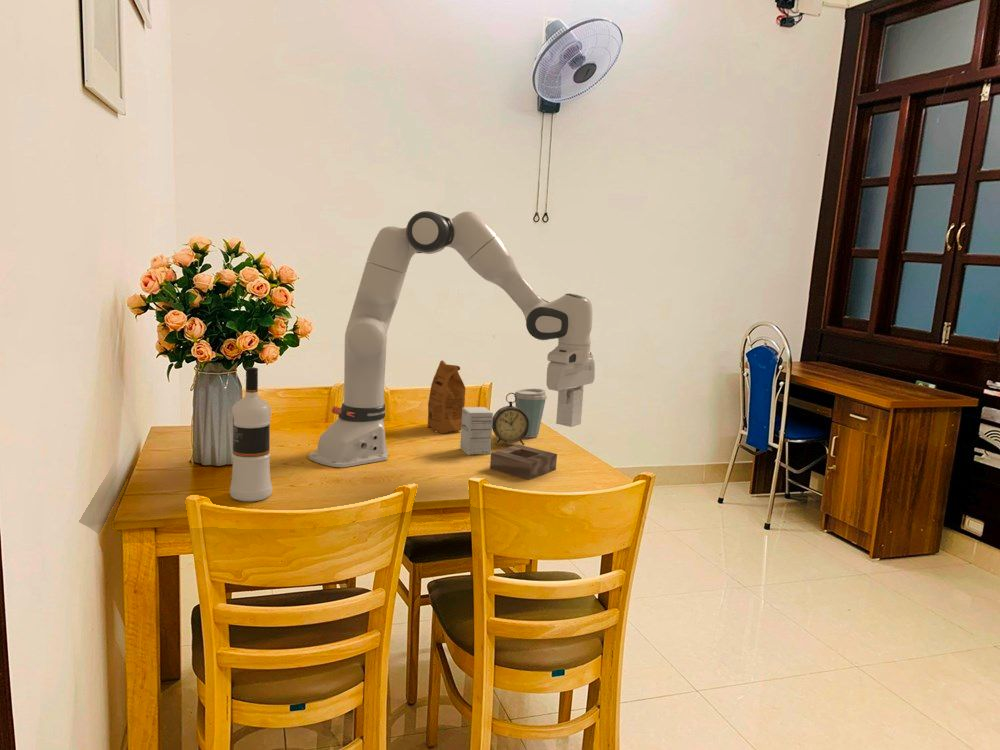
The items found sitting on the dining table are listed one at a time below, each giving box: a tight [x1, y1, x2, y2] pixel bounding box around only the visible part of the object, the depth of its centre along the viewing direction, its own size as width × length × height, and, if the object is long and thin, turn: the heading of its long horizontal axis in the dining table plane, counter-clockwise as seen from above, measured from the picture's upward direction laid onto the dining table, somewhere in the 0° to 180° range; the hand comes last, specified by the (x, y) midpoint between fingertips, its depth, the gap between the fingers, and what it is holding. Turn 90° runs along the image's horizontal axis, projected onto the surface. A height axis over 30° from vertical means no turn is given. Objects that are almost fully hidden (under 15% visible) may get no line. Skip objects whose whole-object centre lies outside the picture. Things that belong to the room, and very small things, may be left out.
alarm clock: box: [492, 392, 529, 446], centre depth 232 cm, size 11×5×16 cm, turn 102°
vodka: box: [229, 366, 273, 503], centre depth 172 cm, size 9×9×30 cm
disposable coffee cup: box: [513, 388, 548, 439], centre depth 244 cm, size 11×11×15 cm
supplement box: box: [459, 406, 494, 456], centre depth 222 cm, size 7×7×13 cm
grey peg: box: [555, 387, 584, 428], centre depth 211 cm, size 5×5×10 cm
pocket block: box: [489, 443, 558, 481], centre depth 208 cm, size 13×13×4 cm
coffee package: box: [427, 359, 466, 434], centre depth 245 cm, size 10×12×22 cm
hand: (569, 402), depth 211 cm, fingers closed on grey peg, 5 cm apart
